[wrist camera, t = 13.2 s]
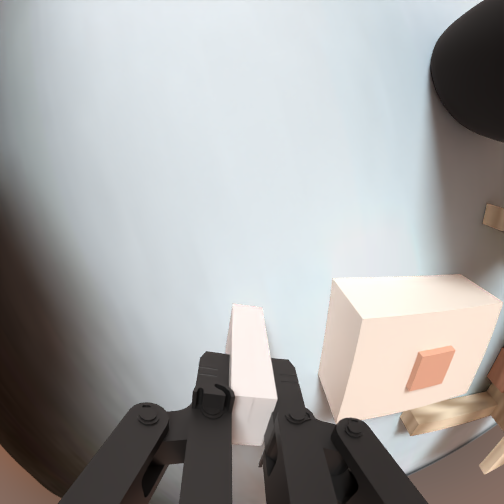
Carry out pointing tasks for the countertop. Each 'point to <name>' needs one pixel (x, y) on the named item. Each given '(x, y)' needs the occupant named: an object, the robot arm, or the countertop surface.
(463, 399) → the shelf
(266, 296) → the countertop surface
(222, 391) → the robot arm
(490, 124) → the mug
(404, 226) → the countertop surface
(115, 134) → the countertop surface
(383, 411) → the cream white block
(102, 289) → the countertop surface
